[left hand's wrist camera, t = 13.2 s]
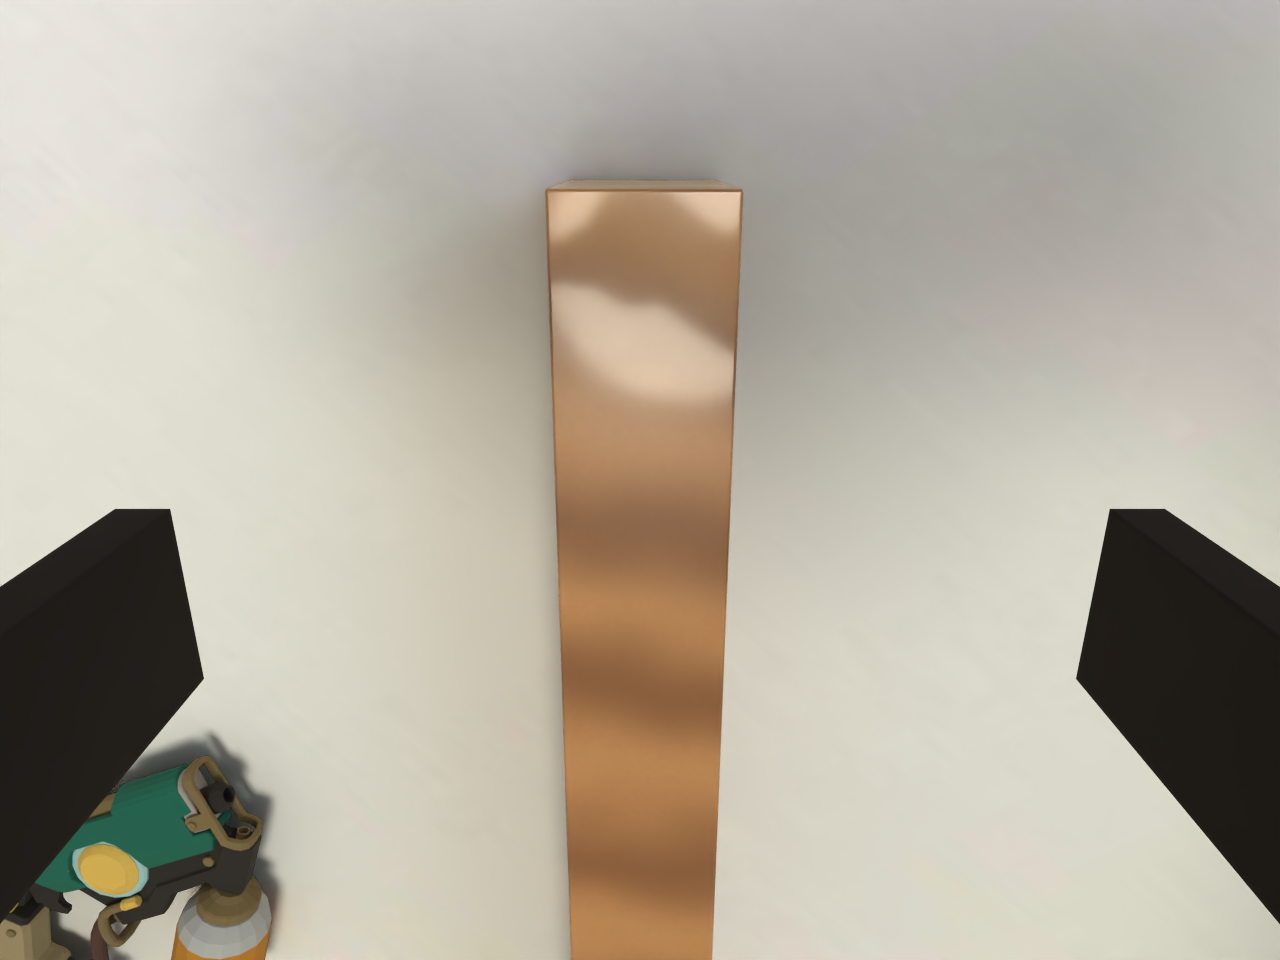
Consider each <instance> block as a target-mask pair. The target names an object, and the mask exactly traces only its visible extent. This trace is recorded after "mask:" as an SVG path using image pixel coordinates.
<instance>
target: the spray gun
mask: <svg viewBox="0 0 1280 960" xmlns="http://www.w3.org/2000/svg"><path fill="white" fill-rule="evenodd" d="M202 764H204V765H205V766H206V768H207V769H208V771H209V772H210V774H211V776H212V777H213V779H214V781H215V782H216V784H213V785H209V786H208V784H207V782H206V780H205V779H204V777H203V775H202V774H201V772H200V770H199V769H198V768H199V767H200V766H201V765H202ZM230 807H231V808H232V810H233V811H234V813H235V814H236V816H237V818H238V819H239V820H240V821H243V822H246V823H249V824H251V825H253V826H255V828H256V829H255V830H254V831H253V832H252V831H251V829H250V828H249V827H248V826H241V827H239V828H236V827H234V828H231V827H230V826H229V825H227V824H228V821H229V818H230V815H231V810H230V809H229V808H230ZM262 824H263V823H262V821H261V819H260V818H259V817H257V816H255V815H252V814H249V813H246V811H245V810H244V808H243V806H242V805H241V803H240V801H239V800H238V798H237V797H236V795H235V792H234V789H233V788H232V787H231V786H230V785H229V783H228V782H227V780H226V778H225V777H224V775H223V773H222V772H221V770H220V768H219V767H218V765H217V764H216V762H215V761H214V759H213V758H212V757H210V756H202V757H199V758H197V759H195V760H193V762H192V763H191V764H190V765H189V764H185V765H181V766H178V767H175V768H171V769H168V770H165V771H162V772H159V773H155V774H152V775H149V776H146V777H143V778H140V779H136V780H133V781H130V782H127V783H124V784H123V785H121V787H120V788H119V790H118V791H117V793H114V794H111V795H108V796H106V797H105V798H104V800H103V801H102V802H101V803H100V804H99V806H98V807H97V808H96V809H95V810H94V812H93V813H92V814H91V815H90V817H89V818H88V819H87V820H86V821H85V823H84V824H83V825H82V826H81V827H80V829H79V830H78V831H77V832H76V833H75V835H74V836H73V837H72V838H71V839H70V841H69V842H68V843H67V844H66V845H65V847H64V848H63V849H62V850H61V851H60V853H59V854H58V855H57V856H56V857H55V859H54V860H53V861H52V862H51V863H50V865H49V866H48V867H47V868H46V870H45V871H44V872H43V873H42V874H41V876H40V877H39V878H38V879H37V880H36V882H35V883H34V884H33V885H32V886H31V888H30V889H29V890H28V891H27V892H26V894H25V895H24V896H23V897H22V898H21V900H20V901H19V902H18V903H17V904H16V906H15V907H14V908H13V909H12V910H11V912H10V913H9V914H8V915H7V916H6V918H5V919H4V920H3V921H2V923H1V924H0V960H75V959H74V957H71V952H70V951H69V949H67V948H65V947H63V946H61V945H58V944H56V943H54V942H52V941H51V929H50V911H49V909H51V910H54V911H57V912H60V913H66V914H68V913H69V912H70V911H71V910H72V905H71V904H69V903H68V902H67V901H66V900H65V899H64V897H63V892H70V891H74V890H78V889H79V890H81V891H83V892H84V893H86V894H88V895H89V896H91V897H93V898H95V899H96V900H98V901H100V902H101V903H103V904H105V905H106V906H107V907H106V908H105V909H103V910H102V911H101V912H100V913H99V917H98V919H97V920H96V922H95V924H94V926H93V929H92V932H91V945H90V949H91V954H92V960H109V955H108V950H107V944H108V945H111V946H115V947H119V946H121V945H123V944H124V943H125V942H126V941H127V940H128V939H129V938H130V937H131V935H132V934H133V933H134V932H135V930H136V928H137V927H138V925H139V923H140V922H141V920H143V919H147V918H150V917H154V916H157V915H161V914H164V913H165V912H166V911H167V910H168V908H169V907H170V905H171V904H172V902H173V900H174V898H175V896H176V894H177V893H178V892H181V891H183V890H186V889H189V888H192V887H195V886H198V885H201V884H203V885H202V886H201V888H200V890H199V891H198V892H197V893H196V894H195V895H193V896H192V897H191V898H190V899H189V900H188V902H187V904H186V906H185V907H184V909H183V911H182V914H181V916H180V918H179V921H178V923H177V928H176V934H175V939H174V945H173V951H172V957H171V960H265V956H266V951H267V945H268V939H269V933H270V928H271V922H272V917H271V912H270V906H269V902H268V897H267V896H266V895H265V893H264V892H263V891H262V890H261V886H260V884H259V883H258V881H257V880H256V879H255V878H254V877H252V873H253V869H254V865H255V861H256V857H257V852H258V848H259V844H260V840H261V834H260V833H261V830H262ZM204 883H205V884H204ZM116 921H118V922H121V923H122V924H123V925H124V924H127V926H126V927H125V929H124V930H123V931H122V932H121V933H120V934H119V935H116V934H115V932H114V931H113V929H112V927H111V924H113V923H114V922H116Z"/></svg>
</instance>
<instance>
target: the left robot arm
mask: <svg viewBox="0 0 1280 960" xmlns="http://www.w3.org/2000/svg"><path fill="white" fill-rule="evenodd" d="M203 679H204V677H203V672H202V667H201V662H200V657H199V652H198V647H197V642H196V637H195V632H194V627H193V622H192V617H191V612H190V607H189V602H188V597H187V592H186V587H185V582H184V577H183V572H182V566H181V561H180V556H179V551H178V546H177V541H176V536H175V531H174V526H173V521H172V516H171V511H170V509H114V510H113V511H112V512H110V513H109V514H107V515H106V516H104V517H103V518H101V519H100V520H98V521H97V522H95V523H94V524H92V525H91V526H89V527H88V528H86V529H85V530H83V531H82V532H81V533H79V534H78V535H76V536H75V537H73V538H72V539H70V540H69V541H67V542H66V543H64V544H63V545H61V546H60V547H58V548H57V549H55V550H54V551H52V552H51V553H50V554H48V555H47V556H45V557H44V558H42V559H41V560H39V561H38V562H36V563H35V564H33V565H32V566H30V567H29V568H27V569H26V570H24V571H23V572H21V573H20V574H19V575H17V576H16V577H14V578H13V579H11V580H10V581H8V582H7V583H5V584H4V585H2V586H1V587H0V924H1V923H2V921H3V920H4V919H5V918H6V916H7V915H8V914H9V913H10V912H11V910H12V909H13V908H14V907H15V906H16V904H17V903H18V902H19V901H20V900H21V898H22V897H23V896H24V895H25V894H26V892H27V891H28V890H29V889H30V888H31V886H32V885H33V884H34V883H35V882H36V880H37V879H38V878H39V877H40V876H41V874H42V873H43V872H44V871H45V870H46V868H47V867H48V866H49V865H50V863H51V862H52V861H53V860H54V859H55V857H56V856H57V855H58V854H59V853H60V851H61V850H62V849H63V848H64V847H65V845H66V844H67V843H68V842H69V841H70V839H71V838H72V837H73V836H74V835H75V833H76V832H77V831H78V830H79V829H80V827H81V826H82V825H83V824H84V823H85V821H86V820H87V819H88V818H89V817H90V815H91V814H92V813H93V812H94V810H95V809H96V808H97V807H98V806H99V804H100V803H101V802H102V801H103V800H104V798H105V797H106V796H107V795H108V794H109V792H110V791H111V790H112V789H113V788H114V786H115V785H116V784H117V783H118V782H119V780H120V779H121V778H122V777H123V776H124V774H125V773H126V772H127V771H128V770H129V768H130V767H131V766H132V765H133V764H134V762H135V761H136V760H137V759H138V757H139V756H140V755H141V754H142V753H143V751H144V750H145V749H146V748H147V747H148V745H149V744H150V743H151V742H152V741H153V739H154V738H155V737H156V736H157V735H158V733H159V732H160V731H161V730H162V729H163V727H164V726H165V725H166V724H167V723H168V721H169V720H170V719H171V718H172V717H173V715H174V714H175V713H176V712H177V711H178V709H179V708H180V707H181V706H182V705H183V703H184V702H185V701H186V700H187V698H188V697H189V696H190V695H191V694H192V692H193V691H194V690H195V689H196V688H197V686H198V685H199V684H200V683H201V682H202V680H203ZM1076 679H1077V680H1078V682H1079V683H1080V684H1081V685H1082V686H1083V688H1084V689H1085V690H1086V691H1087V692H1088V694H1089V695H1090V696H1091V697H1092V698H1093V700H1094V701H1095V702H1096V703H1097V705H1098V706H1099V707H1100V708H1101V709H1102V711H1103V712H1104V713H1105V714H1106V715H1107V717H1108V718H1109V719H1110V720H1111V721H1112V723H1113V724H1114V725H1115V726H1116V727H1117V729H1118V730H1119V731H1120V732H1121V733H1122V735H1123V736H1124V737H1125V738H1126V739H1127V741H1128V742H1129V743H1130V744H1131V745H1132V747H1133V748H1134V749H1135V750H1136V751H1137V753H1138V754H1139V755H1140V756H1141V757H1142V759H1143V760H1144V761H1145V762H1146V764H1147V765H1148V766H1149V767H1150V768H1151V770H1152V771H1153V772H1154V773H1155V774H1156V776H1157V777H1158V778H1159V779H1160V780H1161V782H1162V783H1163V784H1164V785H1165V786H1166V788H1167V789H1168V790H1169V791H1170V792H1171V794H1172V795H1173V796H1174V797H1175V798H1176V800H1177V801H1178V802H1179V803H1180V804H1181V806H1182V807H1183V808H1184V809H1185V810H1186V812H1187V813H1188V814H1189V815H1190V817H1191V818H1192V819H1193V820H1194V821H1195V823H1196V824H1197V825H1198V826H1199V827H1200V829H1201V830H1202V831H1203V832H1204V833H1205V835H1206V836H1207V837H1208V838H1209V839H1210V841H1211V842H1212V843H1213V844H1214V845H1215V847H1216V848H1217V849H1218V850H1219V851H1220V853H1221V854H1222V855H1223V856H1224V857H1225V859H1226V860H1227V861H1228V862H1229V863H1230V865H1231V866H1232V867H1233V868H1234V870H1235V871H1236V872H1237V873H1238V874H1239V876H1240V877H1241V878H1242V879H1243V880H1244V882H1245V883H1246V884H1247V885H1248V886H1249V888H1250V889H1251V890H1252V891H1253V892H1254V894H1255V895H1256V896H1257V897H1258V898H1259V900H1260V901H1261V902H1262V903H1263V904H1264V906H1265V907H1266V908H1267V909H1268V910H1269V912H1270V913H1271V914H1272V915H1273V916H1274V918H1275V919H1276V920H1277V921H1278V923H1279V924H1280V587H1279V586H1278V585H1276V584H1275V583H1273V582H1272V581H1270V580H1269V579H1267V578H1266V577H1264V576H1263V575H1261V574H1260V573H1259V572H1257V571H1256V570H1254V569H1253V568H1251V567H1250V566H1248V565H1247V564H1245V563H1244V562H1242V561H1241V560H1239V559H1238V558H1236V557H1235V556H1233V555H1232V554H1230V553H1229V552H1228V551H1226V550H1225V549H1223V548H1222V547H1220V546H1219V545H1217V544H1216V543H1214V542H1213V541H1211V540H1210V539H1208V538H1207V537H1205V536H1204V535H1202V534H1201V533H1199V532H1198V531H1197V530H1195V529H1194V528H1192V527H1191V526H1189V525H1188V524H1186V523H1185V522H1183V521H1182V520H1180V519H1179V518H1177V517H1176V516H1174V515H1173V514H1171V513H1170V512H1168V511H1167V510H1166V509H1110V511H1109V516H1108V521H1107V526H1106V531H1105V536H1104V541H1103V546H1102V551H1101V556H1100V561H1099V566H1098V572H1097V577H1096V582H1095V587H1094V592H1093V597H1092V602H1091V607H1090V612H1089V617H1088V622H1087V627H1086V632H1085V637H1084V642H1083V647H1082V652H1081V657H1080V662H1079V667H1078V672H1077V677H1076Z"/></svg>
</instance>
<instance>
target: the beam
mask: <svg viewBox="0 0 1280 960" xmlns="http://www.w3.org/2000/svg"><path fill="white" fill-rule="evenodd" d="M545 200H546V229H547V259H548V288H549V318H550V348H551V377H552V407H553V436H554V466H555V496H556V525H557V555H558V584H559V614H560V644H561V673H562V703H563V732H564V762H565V792H566V821H567V851H568V881H569V910H570V940H571V960H712V948H713V923H714V898H715V874H716V849H717V824H718V800H719V775H720V750H721V726H722V701H723V676H724V652H725V627H726V602H727V578H728V553H729V528H730V503H731V479H732V454H733V429H734V405H735V380H736V355H737V331H738V306H739V281H740V257H741V232H742V207H743V190H741V189H739V188H736V187H733V186H731V185H728V184H725V183H722V182H720V181H717V180H568V181H566V182H563V183H561V184H558V185H556V186H553V187H551V188H548V189H546V191H545Z"/></svg>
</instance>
